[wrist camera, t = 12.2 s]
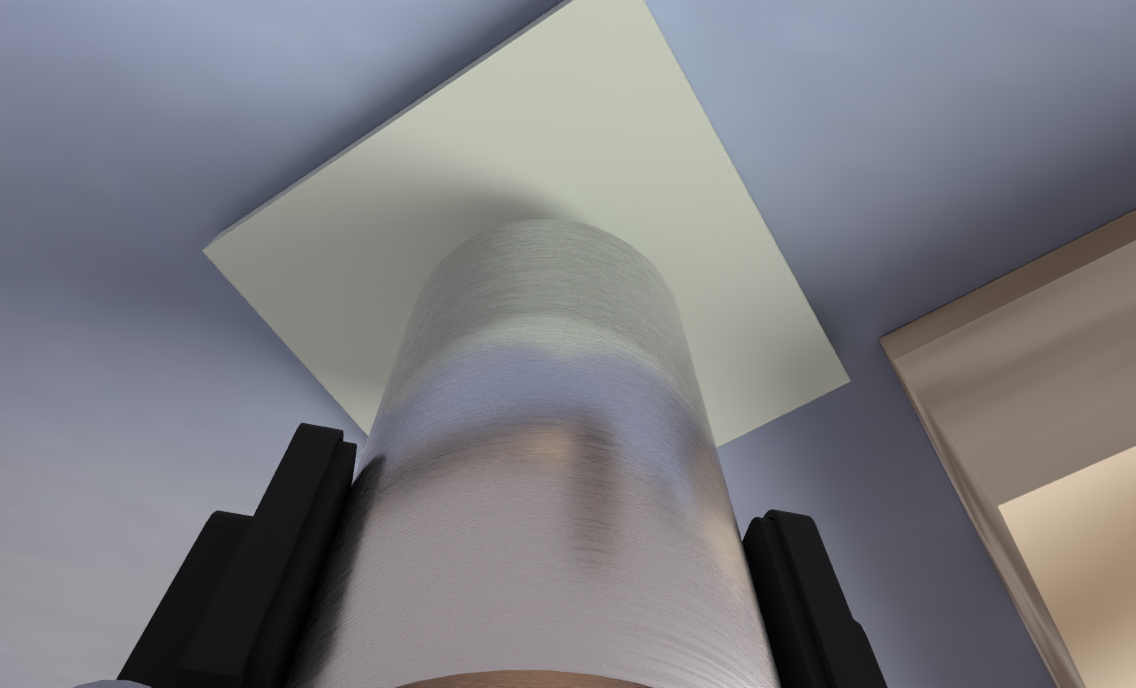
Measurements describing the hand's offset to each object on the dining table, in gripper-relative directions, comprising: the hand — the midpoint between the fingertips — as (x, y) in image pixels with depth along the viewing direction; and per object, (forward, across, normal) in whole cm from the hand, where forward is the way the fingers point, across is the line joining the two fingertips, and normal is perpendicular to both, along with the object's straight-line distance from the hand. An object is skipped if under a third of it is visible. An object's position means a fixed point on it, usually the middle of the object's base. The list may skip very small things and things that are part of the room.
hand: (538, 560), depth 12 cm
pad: (+8, 0, 0) cm, 8 cm away
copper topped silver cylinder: (+6, 0, 0) cm, 6 cm away
